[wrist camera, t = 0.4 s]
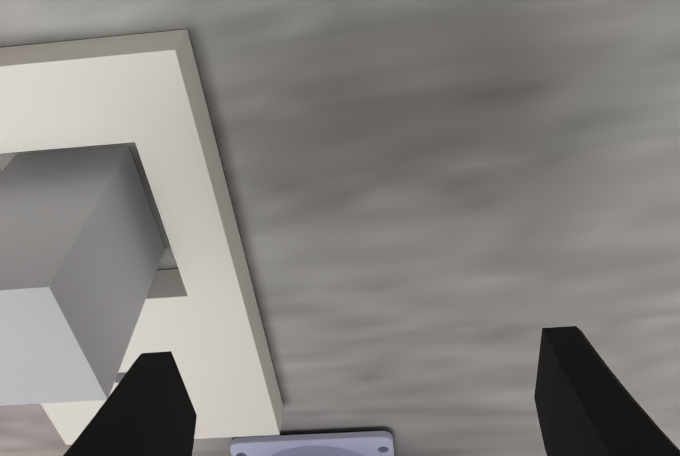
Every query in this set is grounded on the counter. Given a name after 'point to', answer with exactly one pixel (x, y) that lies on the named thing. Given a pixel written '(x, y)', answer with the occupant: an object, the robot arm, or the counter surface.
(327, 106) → the counter surface
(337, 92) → the counter surface
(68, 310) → the block
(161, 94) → the power strip
